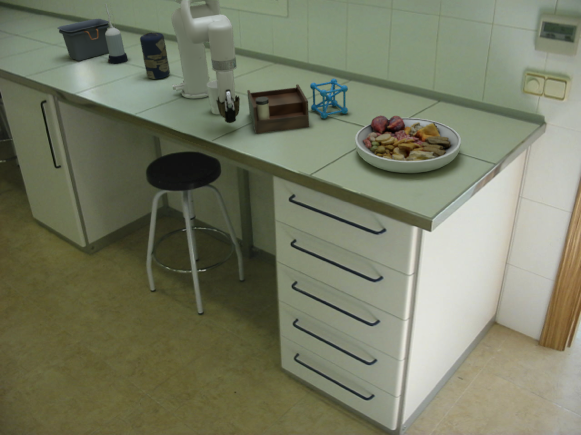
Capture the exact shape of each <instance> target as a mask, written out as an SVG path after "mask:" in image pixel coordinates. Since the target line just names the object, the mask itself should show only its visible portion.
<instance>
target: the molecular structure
mask: <svg viewBox="0 0 581 435" xmlns="http://www.w3.org/2000/svg"><path fill="white" fill-rule="evenodd" d="M327 85H331V87H330V90H326V89H320V88H319V87H322V86H327ZM336 86H337V87H338V88H336ZM309 87H310V90H312V104H311V106H310V109H311V111H312V112H318V113H319V114H320V117H321V119H324V120H325V119H327V118H328V116H331V115H335V114H342V115H346V114H348V112H349V109H348V107H346V103H347V102H346V100H347V99H346V93H347V92H348V90H349V88H348V86H347V85H346V84H344V85H341V84H340V83H339V82H338V79H336V78H331V79H330V81H325V82H321V83H316V82H311V83H310V85H309ZM316 91H317V92H318V93H319V96H320V97H322V101H320V102H319V103H317V104H316ZM340 93H342V99H343V100H342V105H343V107H342V106H341V105H340V104H339V103H338V100H336V96H337V95H339V94H340ZM329 106H331V107H334V108H335V107H337V108H338V109H339V110H335V111H331V112H327V110H328V108H329ZM319 108H322V111H321V110H320V109H319Z"/></svg>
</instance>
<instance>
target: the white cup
mask: <svg viewBox="0 0 581 435" xmlns="http://www.w3.org/2000/svg"><path fill="white" fill-rule="evenodd" d="M207 90H208V96H207V97H208V102H209V105H210V108H211V109H210V110H211V113H212V114H214V115H220V112H219V109H218V105H217V101H216V100H218V97H219V96H218V88H217V79H215V80H210V82H209V83H207Z"/></svg>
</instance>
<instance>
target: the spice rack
mask: <svg viewBox="0 0 581 435" xmlns="http://www.w3.org/2000/svg"><path fill="white" fill-rule="evenodd" d="M246 92H247V102H248V103H247V104H248V112H249V118H250V121H251V124H252V127H253V129H254V130H253V131H254V133H255V134H256V135H257V134H264V133H265V134H266V133H272V132H281V131H287V130H296V129H303V128H310V117H309V116H310V115H309V100H308V98H307V97H306V95H305V93H304V91H303V89H302V88H301V87H300V84H298V83H297V84H296V85H295V87H288V88H280V89H270V90H264V91H253V92H251V90H250V89H248V90H247V91H246ZM258 97H267V98H268V99H269V115H270V119H267V120H259V121H258V119H257V108H256V101H255V99H256V98H258Z"/></svg>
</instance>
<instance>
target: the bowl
mask: <svg viewBox="0 0 581 435" xmlns="http://www.w3.org/2000/svg"><path fill="white" fill-rule="evenodd" d="M354 147H355V150H356V152H357V153H358V155H359V156H360V158H362V159H363V160H364V161H365V162H366V163H368V164H369V165H371V166H372V167H375V168H377V169H380V170H383V171H386V172H387V171H388V172H392V173H399V174H400V173H401V174H417V173H418V174H419V173H425V172H427V173H428V172H430V171H431V172H432V171H434V170H438V169H440V168H442V167H445V166H446V165H448V164H450V163H451V162H452V161H453V160H455V159H456V157H457V156H458V154H459V152H460V150H461V147H462V138H461V136H460V134H459V132H457V131H456V130H455V129H454V128H452V127H451V126H448V125H447V124H444V123H441V122H439V121H436V120H431V119H427V118H419V117H401V116H398V115H393V116H391V117H390V118H388V117H386V116H385V115H377V116H376V117H374V118H372V120H371V123H369V124H366V125H365V126H363V127H362V128H360V129H359V130H358V131H357V133H355V136H354Z"/></svg>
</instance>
